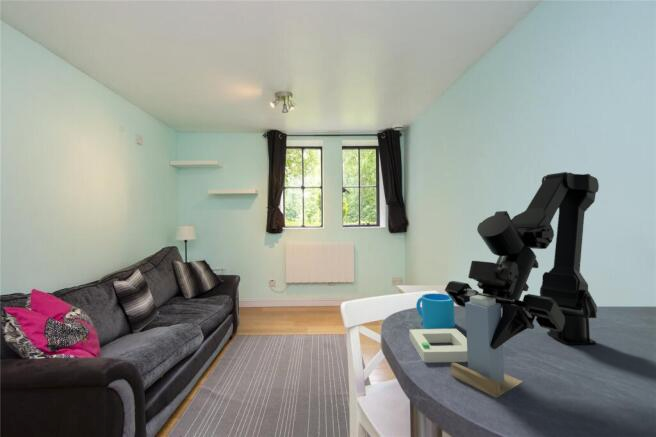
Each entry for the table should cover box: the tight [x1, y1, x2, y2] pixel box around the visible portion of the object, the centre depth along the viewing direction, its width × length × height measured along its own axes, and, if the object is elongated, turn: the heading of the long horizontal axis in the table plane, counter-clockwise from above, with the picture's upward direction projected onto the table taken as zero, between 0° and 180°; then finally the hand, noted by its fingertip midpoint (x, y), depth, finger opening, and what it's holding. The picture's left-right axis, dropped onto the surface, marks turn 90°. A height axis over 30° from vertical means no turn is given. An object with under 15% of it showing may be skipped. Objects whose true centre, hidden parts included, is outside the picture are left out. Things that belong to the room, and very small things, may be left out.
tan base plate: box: [450, 362, 524, 398], centre depth 50 cm, size 8×8×3 cm
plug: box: [464, 295, 505, 383], centre depth 50 cm, size 4×4×14 cm
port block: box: [408, 328, 468, 364], centre depth 62 cm, size 11×12×4 cm
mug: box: [415, 293, 456, 329], centre depth 79 cm, size 12×8×8 cm
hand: (479, 343), depth 49 cm, fingers closed on plug, 4 cm apart
